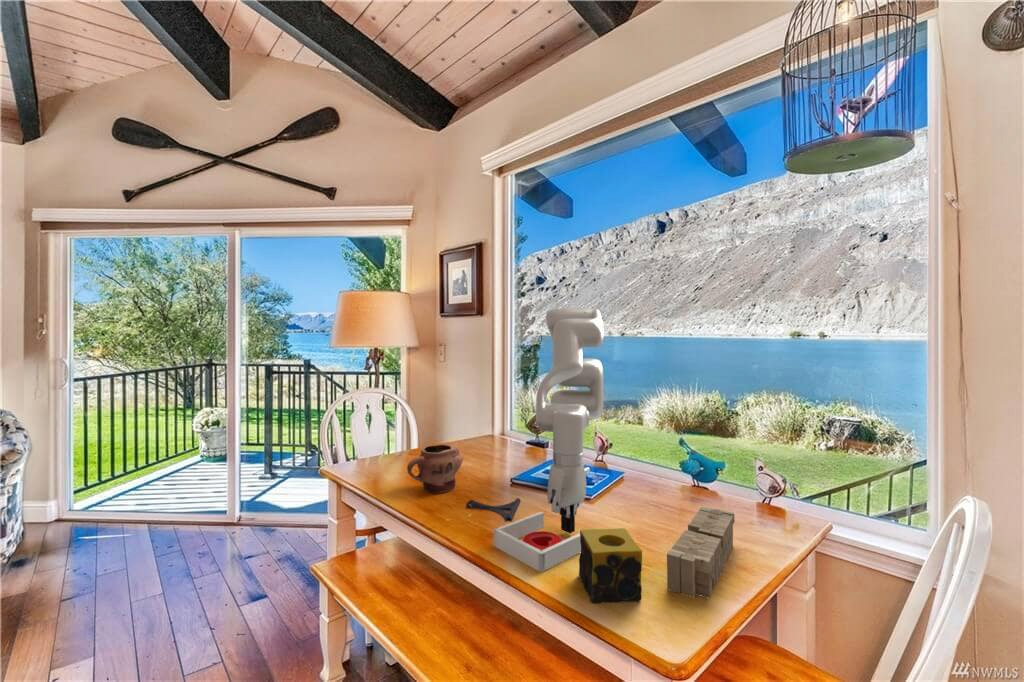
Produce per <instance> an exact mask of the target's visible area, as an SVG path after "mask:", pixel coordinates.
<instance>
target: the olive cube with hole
mask: <svg viewBox="0 0 1024 682" xmlns="http://www.w3.org/2000/svg"><path fill="white" fill-rule="evenodd" d="M579 533H580V543H581V553H579V560H578V564H579V565H578V577H580V578H579V579H580V580H581V584H582V583H583V584H582V585H583V588H584V590H585V592H587V593H588V594H587V593H586V594H587V596H588V595H589V596H588V597H589V601H590V602H591V603H593V604H603V603H602V602H608V603H609V602H615V603H627V602H641V600H642V591H643V590H642V568H643V550H642V549H641V547H640V545H638V544H637V543H636V542H635V540H634V539H633V538H632V536H631V535H630V534H629V531H627V529H626V528H625V527H624V528H622V527H621V528H598V529H597V528H589V529H587V528H586V529H585V528H584V529H583V528H582V529H580V530H579ZM621 601H622V602H621ZM623 601H625V602H623ZM597 602H598V603H597ZM599 602H601V603H599Z"/></svg>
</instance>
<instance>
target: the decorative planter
mask: <svg viewBox="0 0 1024 682" xmlns="http://www.w3.org/2000/svg"><path fill="white" fill-rule="evenodd" d="M463 459H464V458H463V456H462V454H460V450H459V448H458V447H457V446H456V445H452V444H436V445H430V446H426V447H423V448H422V449H421V451H420V454H419V456H418V457H414V458H413V459H411V460H410V461H409V462H408V464H407V468H406V471H407V474H408V475H409V476H410V478H412V479H413V480H414V481H417V482H419V483H421V484H423V485H422V486H423V488H424V490H425V491H426V492H428V493H431V494H432V493H433V494H441V493H447V492H449V491H452V490H454V489H455V488H456V474H457V472H458V471H459V469H460V467H461V466H462V463H463ZM416 465H417V469H418V472H419V473H418V475H415V474H414V473H413V471H412V470H413V468H414V466H416Z"/></svg>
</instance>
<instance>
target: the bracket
mask: <svg viewBox="0 0 1024 682" xmlns="http://www.w3.org/2000/svg"><path fill="white" fill-rule="evenodd" d="M520 503H521V499H520V498H519V497H517V498H515V500H514V501H511V502H509V503H506V504H502V505H501V504H500V505H489V504H485V503H481V502H479V501H475V500H473V499H469V500H468V501H467V502H466V505H465V508H466V509H475V510H476V509H477V510H489V511H492V512H496V513H497V514H499V515H500V516H501V517H503V519H504V520H505V521H506V522H507V521H509V519H510V522H513V519H514V517H515V515H516V512H517V510H518V507H519V506H520ZM470 505H471V506H470Z"/></svg>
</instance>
